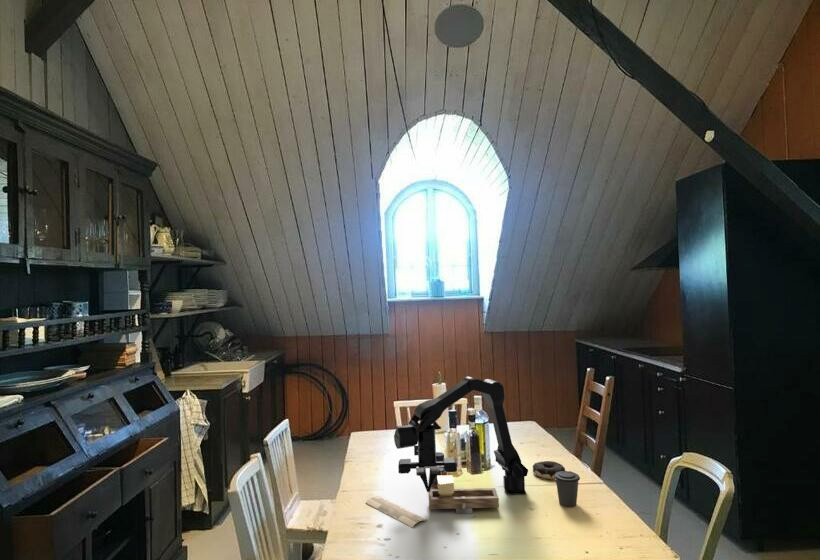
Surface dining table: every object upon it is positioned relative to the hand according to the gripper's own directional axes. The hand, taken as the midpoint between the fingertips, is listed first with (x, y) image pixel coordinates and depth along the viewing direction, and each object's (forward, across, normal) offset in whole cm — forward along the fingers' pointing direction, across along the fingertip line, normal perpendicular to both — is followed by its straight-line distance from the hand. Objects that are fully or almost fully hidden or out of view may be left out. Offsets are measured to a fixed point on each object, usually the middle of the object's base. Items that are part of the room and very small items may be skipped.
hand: (428, 491), depth 164 cm
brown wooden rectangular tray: (+5, -11, 0) cm, 12 cm away
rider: (+2, -6, 0) cm, 6 cm away
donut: (+6, -45, -26) cm, 52 cm away
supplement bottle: (+6, -4, -18) cm, 19 cm away
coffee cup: (+6, -45, -1) cm, 45 cm away
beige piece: (+6, +11, +2) cm, 13 cm away
